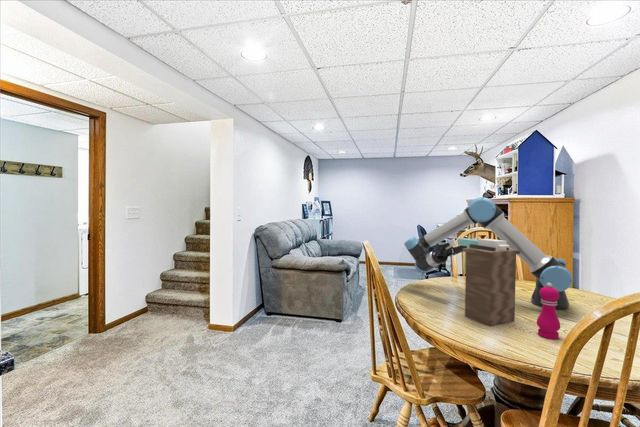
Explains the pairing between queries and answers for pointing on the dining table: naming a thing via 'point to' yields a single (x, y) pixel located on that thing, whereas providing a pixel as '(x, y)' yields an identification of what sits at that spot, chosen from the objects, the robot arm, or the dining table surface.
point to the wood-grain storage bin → (490, 284)
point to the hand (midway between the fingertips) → (466, 240)
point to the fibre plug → (485, 243)
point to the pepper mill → (548, 313)
